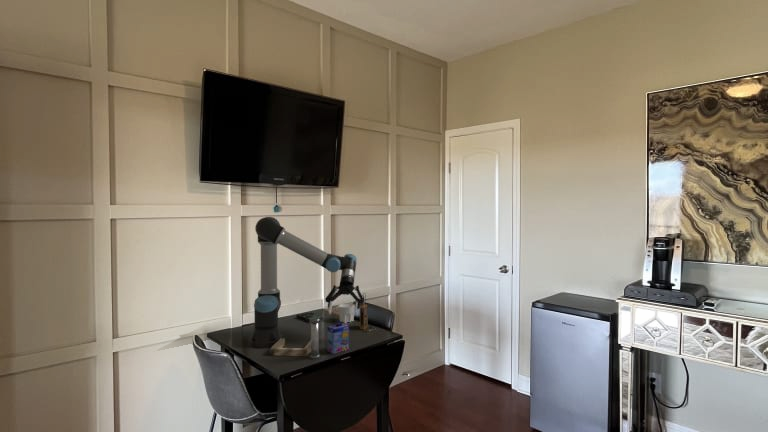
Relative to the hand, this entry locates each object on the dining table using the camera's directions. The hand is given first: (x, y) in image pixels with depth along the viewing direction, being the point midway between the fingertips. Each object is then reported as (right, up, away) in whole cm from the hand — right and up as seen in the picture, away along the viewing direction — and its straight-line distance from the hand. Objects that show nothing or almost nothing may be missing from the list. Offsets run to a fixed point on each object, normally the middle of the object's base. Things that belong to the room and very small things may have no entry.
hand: (342, 313), depth 210 cm
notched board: (-23, -16, -8) cm, 29 cm away
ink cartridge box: (-1, -16, -10) cm, 19 cm away
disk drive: (-26, -16, +48) cm, 57 cm away
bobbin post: (-11, -16, -19) cm, 27 cm away
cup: (-2, -15, +42) cm, 45 cm away
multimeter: (+13, -15, +27) cm, 34 cm away
